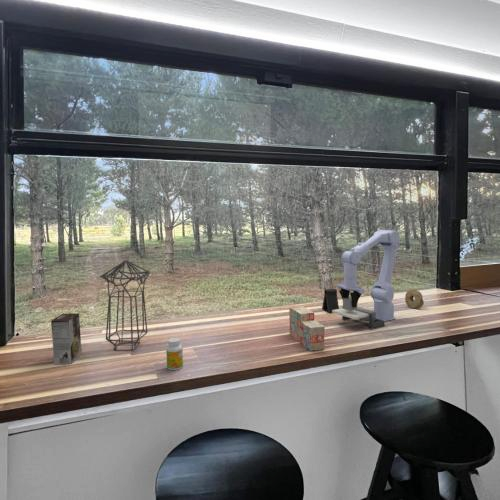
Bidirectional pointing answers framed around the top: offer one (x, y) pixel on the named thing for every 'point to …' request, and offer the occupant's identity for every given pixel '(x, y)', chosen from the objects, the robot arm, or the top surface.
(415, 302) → the stone disc
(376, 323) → the frame
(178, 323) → the top surface
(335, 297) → the phone stand
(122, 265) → the geometric lantern
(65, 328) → the coffee box
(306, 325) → the stack of blocks
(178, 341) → the supplement bottle
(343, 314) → the trapdoor
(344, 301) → the stone block
